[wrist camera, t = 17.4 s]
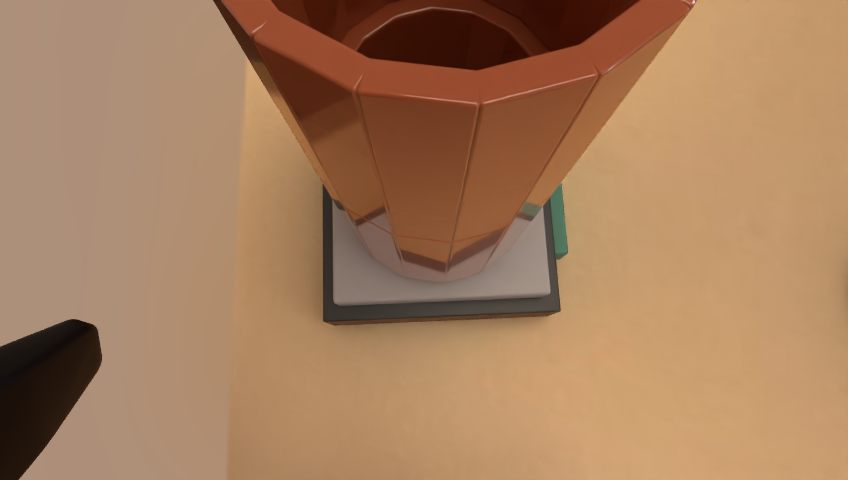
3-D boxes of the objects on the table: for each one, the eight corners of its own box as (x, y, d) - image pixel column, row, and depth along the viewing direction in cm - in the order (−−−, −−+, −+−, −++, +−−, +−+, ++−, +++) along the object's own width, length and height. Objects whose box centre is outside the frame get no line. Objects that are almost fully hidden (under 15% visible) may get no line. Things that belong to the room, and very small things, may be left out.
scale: (333, 325, 21) (317, 320, 18) (331, 123, 22) (316, 88, 19) (562, 315, 21) (584, 308, 18) (543, 114, 22) (560, 78, 19)
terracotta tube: (472, 318, 18) (583, 215, 5) (312, 227, 18) (54, -69, 6) (558, 162, 19) (829, -248, 6) (404, 81, 19) (359, -441, 7)
